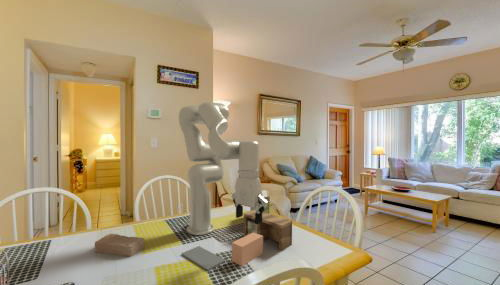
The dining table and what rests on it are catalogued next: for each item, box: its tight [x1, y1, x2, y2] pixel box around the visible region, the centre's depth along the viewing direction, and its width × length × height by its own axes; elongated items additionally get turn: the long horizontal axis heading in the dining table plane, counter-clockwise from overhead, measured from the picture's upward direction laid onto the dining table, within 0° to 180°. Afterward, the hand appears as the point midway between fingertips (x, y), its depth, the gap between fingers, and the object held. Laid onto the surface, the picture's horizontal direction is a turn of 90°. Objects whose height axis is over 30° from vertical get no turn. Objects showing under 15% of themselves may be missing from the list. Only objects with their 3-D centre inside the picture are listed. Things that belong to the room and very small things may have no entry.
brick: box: [94, 233, 145, 257], centre depth 94 cm, size 17×8×5 cm, turn 78°
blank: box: [231, 232, 264, 267], centre depth 89 cm, size 5×12×7 cm, turn 139°
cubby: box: [243, 210, 293, 252], centre depth 104 cm, size 21×7×10 cm, turn 48°
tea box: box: [249, 189, 271, 214], centre depth 128 cm, size 15×10×15 cm
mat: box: [181, 245, 226, 272], centre depth 88 cm, size 16×8×1 cm, turn 48°
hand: (248, 220), depth 88 cm, fingers open, 9 cm apart
